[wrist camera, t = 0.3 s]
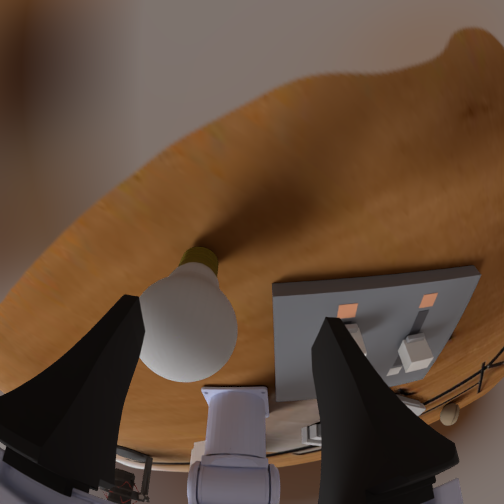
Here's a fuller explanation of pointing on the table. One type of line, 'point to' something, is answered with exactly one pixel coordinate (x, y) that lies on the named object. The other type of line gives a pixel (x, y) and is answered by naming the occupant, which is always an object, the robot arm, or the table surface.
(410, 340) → the breaker
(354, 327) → the breaker on
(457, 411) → the door knob
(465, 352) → the table surface
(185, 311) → the light bulb
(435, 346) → the panel
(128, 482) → the microphone
